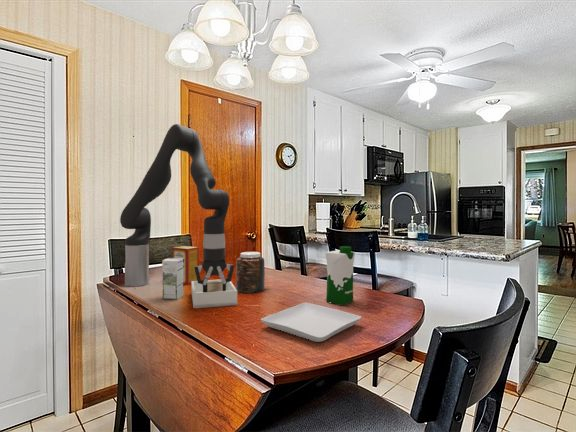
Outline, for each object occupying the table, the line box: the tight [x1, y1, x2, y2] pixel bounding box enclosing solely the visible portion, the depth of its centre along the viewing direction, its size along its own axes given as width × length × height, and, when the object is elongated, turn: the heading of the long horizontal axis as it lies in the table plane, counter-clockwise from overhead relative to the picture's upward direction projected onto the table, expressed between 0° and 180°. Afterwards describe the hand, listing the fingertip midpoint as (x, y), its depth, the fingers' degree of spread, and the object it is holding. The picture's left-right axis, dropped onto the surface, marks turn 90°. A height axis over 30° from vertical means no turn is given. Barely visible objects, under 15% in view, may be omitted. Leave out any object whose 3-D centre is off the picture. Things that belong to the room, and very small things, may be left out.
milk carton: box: [325, 245, 356, 306], centre depth 124 cm, size 9×9×20 cm
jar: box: [235, 251, 266, 294], centre depth 141 cm, size 12×12×15 cm
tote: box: [190, 279, 238, 309], centre depth 127 cm, size 15×20×5 cm
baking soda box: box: [172, 245, 200, 286], centre depth 154 cm, size 10×6×16 cm
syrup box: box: [161, 257, 184, 300], centre depth 128 cm, size 6×6×14 cm
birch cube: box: [207, 281, 223, 292], centre depth 122 cm, size 5×5×5 cm
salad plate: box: [260, 302, 362, 343], centre depth 98 cm, size 21×21×3 cm
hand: (214, 294), depth 122 cm, fingers open, 5 cm apart
